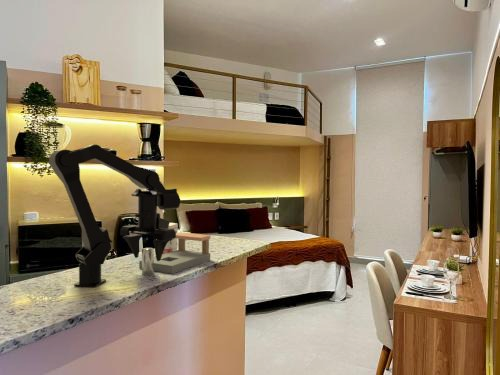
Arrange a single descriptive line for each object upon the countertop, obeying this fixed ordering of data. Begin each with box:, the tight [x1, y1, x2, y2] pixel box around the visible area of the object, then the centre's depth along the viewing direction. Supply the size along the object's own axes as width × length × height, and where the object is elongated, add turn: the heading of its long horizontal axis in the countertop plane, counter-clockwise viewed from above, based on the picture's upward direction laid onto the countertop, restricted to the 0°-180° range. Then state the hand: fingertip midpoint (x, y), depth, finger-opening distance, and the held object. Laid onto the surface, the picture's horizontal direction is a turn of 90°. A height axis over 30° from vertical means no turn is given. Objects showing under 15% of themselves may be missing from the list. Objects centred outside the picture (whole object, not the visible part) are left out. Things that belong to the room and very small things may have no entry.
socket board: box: [138, 232, 211, 274], centre depth 133 cm, size 22×14×9 cm, turn 152°
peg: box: [141, 247, 155, 276], centre depth 119 cm, size 4×4×8 cm
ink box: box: [163, 222, 179, 254], centre depth 150 cm, size 9×5×12 cm, turn 168°
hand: (147, 259), depth 119 cm, fingers open, 9 cm apart
